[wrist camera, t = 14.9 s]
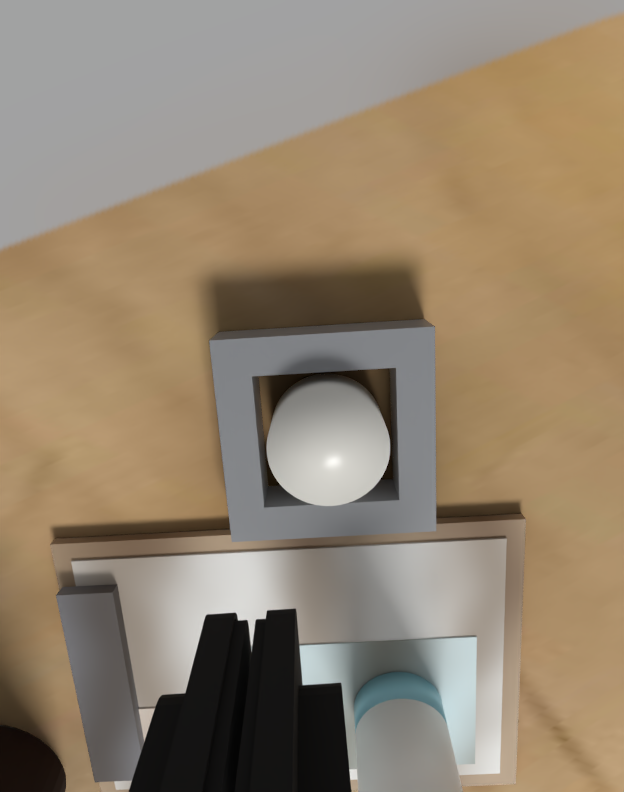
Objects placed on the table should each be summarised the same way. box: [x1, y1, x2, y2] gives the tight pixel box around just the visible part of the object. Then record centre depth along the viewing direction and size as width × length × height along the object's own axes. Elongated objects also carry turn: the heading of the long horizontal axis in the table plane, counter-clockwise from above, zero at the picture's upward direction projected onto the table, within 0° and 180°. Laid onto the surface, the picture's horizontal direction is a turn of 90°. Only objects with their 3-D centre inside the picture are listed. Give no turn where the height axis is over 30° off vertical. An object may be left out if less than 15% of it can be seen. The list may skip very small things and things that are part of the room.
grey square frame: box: [209, 319, 436, 542], centre depth 22 cm, size 8×8×2 cm
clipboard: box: [50, 514, 526, 792], centre depth 26 cm, size 20×14×1 cm
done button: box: [267, 374, 390, 506], centre depth 21 cm, size 4×4×2 cm
